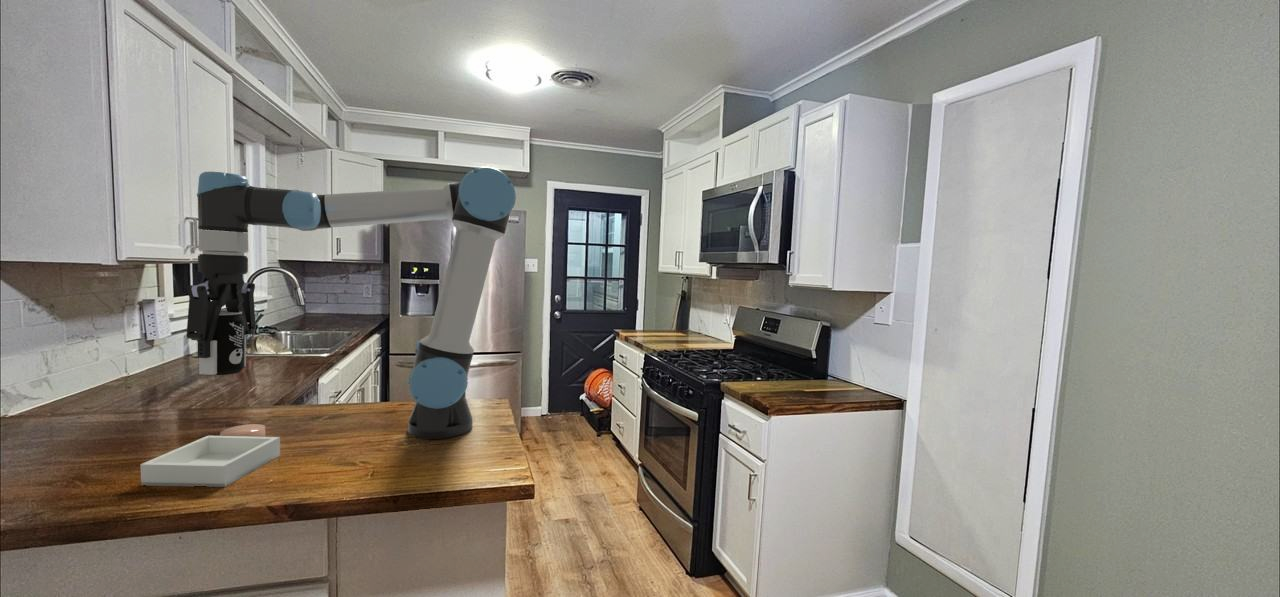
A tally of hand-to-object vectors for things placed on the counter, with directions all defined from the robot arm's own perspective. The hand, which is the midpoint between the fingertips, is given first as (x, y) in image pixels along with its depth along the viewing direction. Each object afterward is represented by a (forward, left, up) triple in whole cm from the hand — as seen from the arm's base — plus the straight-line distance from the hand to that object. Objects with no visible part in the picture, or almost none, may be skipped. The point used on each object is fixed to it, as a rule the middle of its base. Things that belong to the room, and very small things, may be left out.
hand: (223, 369), depth 100 cm
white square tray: (+1, +1, -20) cm, 20 cm away
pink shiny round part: (+6, -13, -20) cm, 25 cm away
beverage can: (0, 0, -1) cm, 1 cm away
